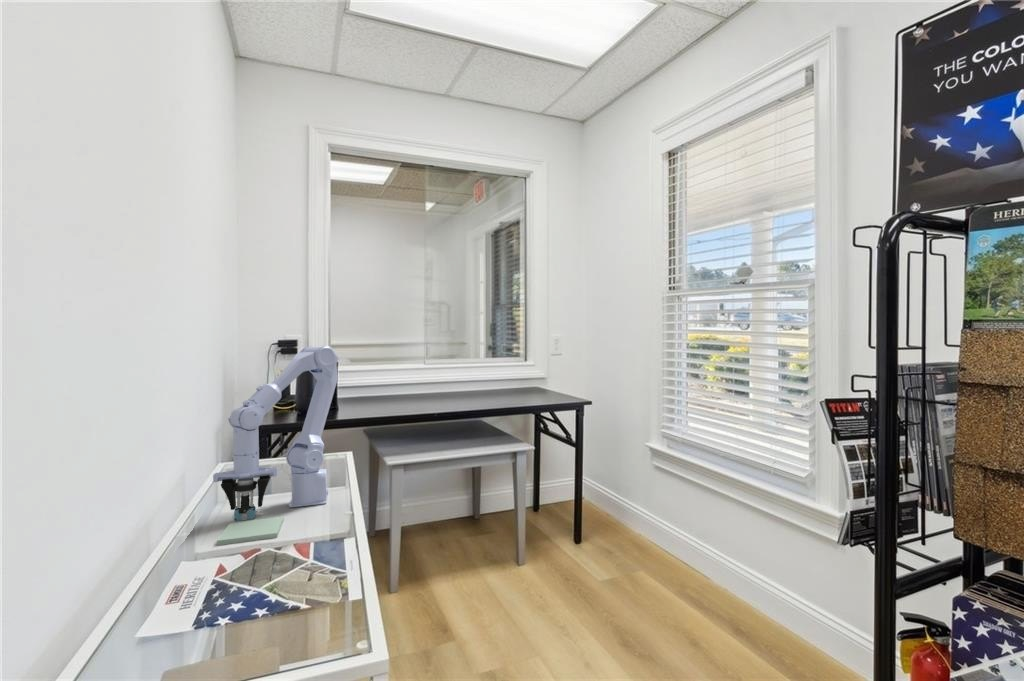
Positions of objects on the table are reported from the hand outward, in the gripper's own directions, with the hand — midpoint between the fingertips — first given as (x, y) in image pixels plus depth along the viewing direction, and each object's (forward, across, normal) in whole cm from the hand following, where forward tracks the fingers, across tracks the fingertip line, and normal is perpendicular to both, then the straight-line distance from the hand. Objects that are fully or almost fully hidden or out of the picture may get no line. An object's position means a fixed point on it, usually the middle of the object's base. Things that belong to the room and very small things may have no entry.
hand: (246, 507), depth 125 cm
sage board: (+3, +3, -11) cm, 12 cm away
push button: (+3, 0, 0) cm, 3 cm away
